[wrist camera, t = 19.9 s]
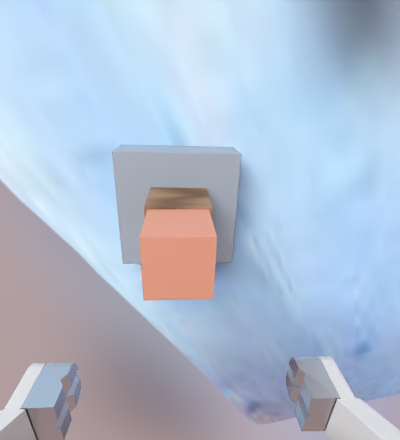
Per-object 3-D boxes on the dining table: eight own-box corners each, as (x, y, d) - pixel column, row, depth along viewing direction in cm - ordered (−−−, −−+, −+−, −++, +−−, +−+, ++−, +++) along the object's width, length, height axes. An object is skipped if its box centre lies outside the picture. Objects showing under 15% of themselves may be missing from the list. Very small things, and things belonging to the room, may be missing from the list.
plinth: (232, 147, 27) (241, 154, 24) (225, 243, 32) (231, 262, 28) (121, 144, 26) (112, 151, 23) (129, 244, 31) (122, 263, 27)
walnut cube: (206, 188, 25) (212, 207, 20) (203, 237, 27) (209, 265, 22) (150, 187, 24) (143, 206, 20) (152, 237, 26) (146, 266, 22)
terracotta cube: (209, 209, 20) (217, 236, 16) (206, 261, 22) (213, 298, 18) (147, 209, 20) (139, 237, 16) (150, 262, 21) (143, 300, 17)
